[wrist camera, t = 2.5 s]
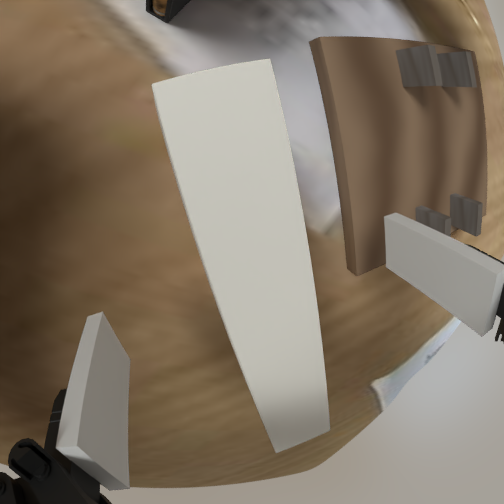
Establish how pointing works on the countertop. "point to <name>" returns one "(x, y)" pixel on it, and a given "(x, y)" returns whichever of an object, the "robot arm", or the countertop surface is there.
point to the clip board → (402, 137)
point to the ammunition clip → (165, 8)
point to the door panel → (251, 236)
